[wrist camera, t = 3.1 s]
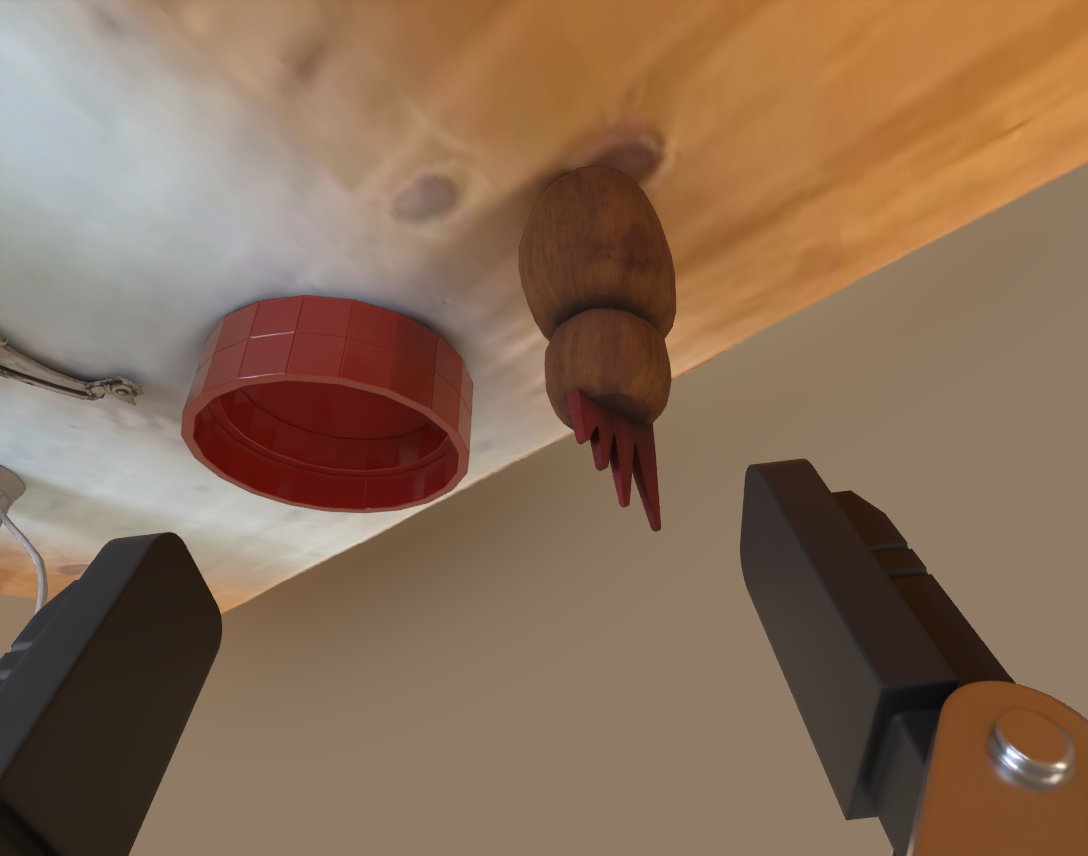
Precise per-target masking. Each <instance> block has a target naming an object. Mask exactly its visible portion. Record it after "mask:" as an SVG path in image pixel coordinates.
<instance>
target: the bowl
mask: <svg viewBox="0 0 1088 856" xmlns="http://www.w3.org/2000/svg"><path fill="white" fill-rule="evenodd" d="M472 396H473V382H472V380H471V378H470V376H469V373H468V371H467V369H466V366H465V364H464V362H463V360H462V358H461V357H460V356H459V355H458V354H457V353H456V352H455V351H454V350H453V349H452V348H451V347H450V346H449V345H448V344H447V343H446V342H445V341H444V340H443V339H442V338H441V337H440V336H439V335H437V334H436V333H434V332H433V331H431V330H429V329H427V328H425V327H424V326H422V325H420V324H418V323H416V322H415V321H413V320H411V319H409V318H407V317H406V316H404V315H402V314H400V313H397V312H394V311H390V310H387V309H384V308H380V307H377V306H374V305H370V304H367V303H364V302H360V301H357V300H352V299H341V298H330V297H319V296H308V295H305V296H303V295H302V296H295V297H287V298H280V299H272V300H264V301H258V302H256V303H254V304H252V305H249V306H247V307H245V308H243V309H241V310H238V311H236V312H234V313H232V314H230V315H227V316H226V317H225V318H224V319H223V320H222V321H221V323H220V324H219V325H218V326H217V327H216V328H215V330H214V331H213V332H212V333H211V334H210V335H209V337H208V338H207V340H206V344H205V347H204V350H203V353H202V356H201V359H200V362H199V365H198V368H197V371H196V374H195V377H194V380H193V383H192V386H191V389H190V392H189V395H188V398H187V401H186V404H185V407H184V410H183V416H182V430H181V436H182V438H183V439H184V441H185V443H186V444H187V446H188V448H189V449H190V451H191V453H192V454H193V456H194V457H195V458H196V459H197V460H198V461H199V462H201V463H202V464H203V465H204V466H206V467H207V468H208V469H209V470H211V471H212V472H213V473H214V474H216V475H217V476H218V477H220V478H222V479H224V480H226V481H228V482H230V483H232V484H234V485H236V486H238V487H240V488H242V489H244V490H246V491H248V492H250V493H252V494H255V495H258V496H262V497H265V498H268V499H271V500H275V501H278V502H281V503H284V504H287V505H288V504H289V505H292V506H298V507H304V508H310V509H315V510H321V511H329V512H349V513H374V512H385V511H397V510H402V509H406V508H410V507H414V506H418V505H422V504H426V503H429V502H431V501H433V500H435V499H437V498H439V497H441V496H443V495H445V494H447V493H448V492H450V491H452V490H453V489H454V488H455V487H456V486H457V485H458V483H459V482H460V481H461V480H462V479H463V478H464V476H465V475H466V474H467V471H468V462H469V453H470V434H471V415H472Z"/></svg>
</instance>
